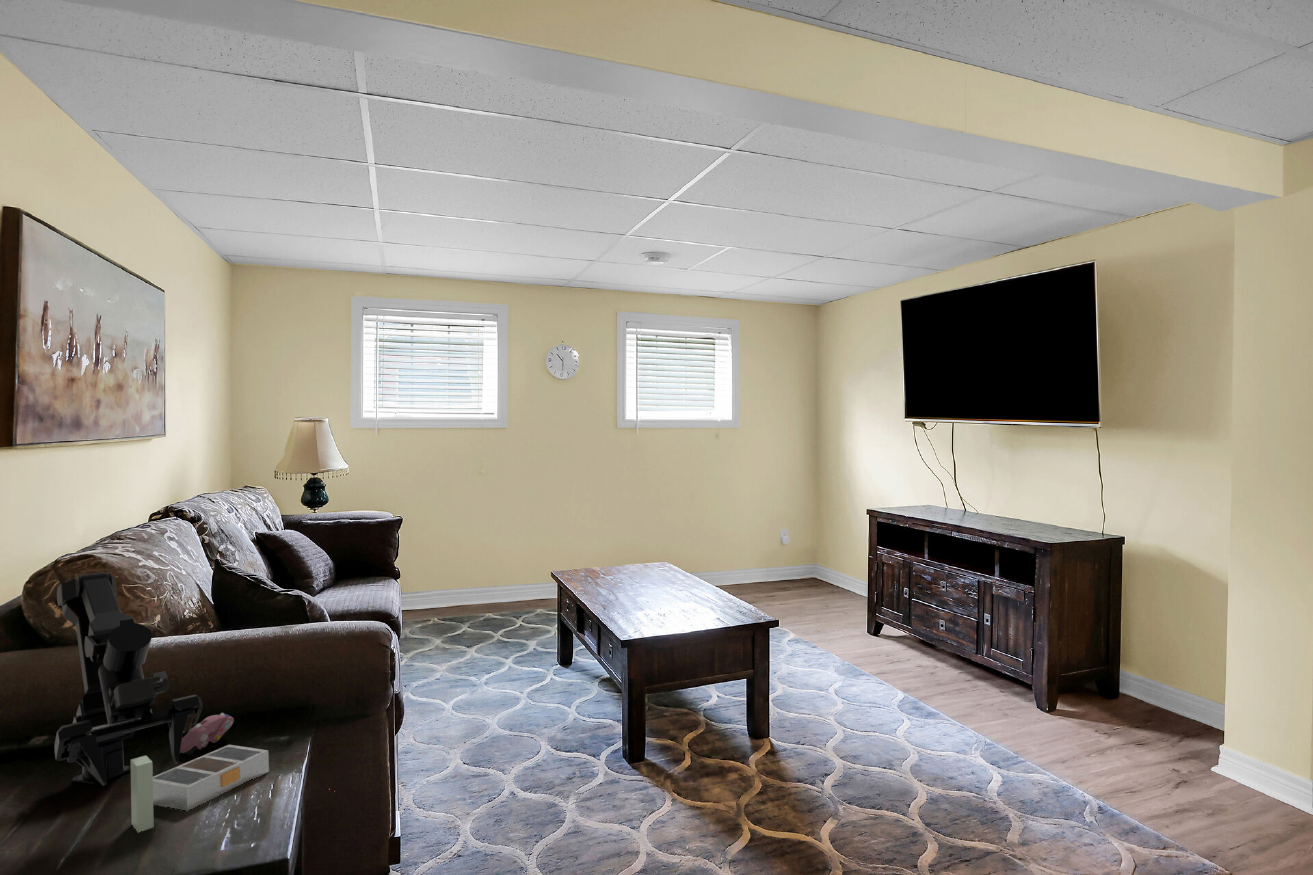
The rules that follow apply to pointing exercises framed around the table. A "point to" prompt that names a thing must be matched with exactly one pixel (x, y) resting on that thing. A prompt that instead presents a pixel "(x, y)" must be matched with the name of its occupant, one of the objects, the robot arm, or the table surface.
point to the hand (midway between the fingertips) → (141, 772)
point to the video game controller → (206, 732)
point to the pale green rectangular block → (142, 793)
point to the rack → (208, 776)
